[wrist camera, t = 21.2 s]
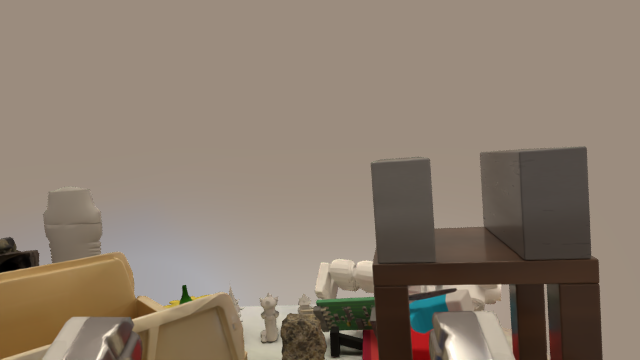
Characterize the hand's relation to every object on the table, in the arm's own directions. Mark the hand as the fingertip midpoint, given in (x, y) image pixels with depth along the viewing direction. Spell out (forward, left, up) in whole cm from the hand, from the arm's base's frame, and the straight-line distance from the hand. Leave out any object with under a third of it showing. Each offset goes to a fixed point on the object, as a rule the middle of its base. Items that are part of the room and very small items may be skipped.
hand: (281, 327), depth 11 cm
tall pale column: (+27, +52, -19) cm, 62 cm away
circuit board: (+36, +13, -18) cm, 42 cm away
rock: (+22, +15, -18) cm, 33 cm away
